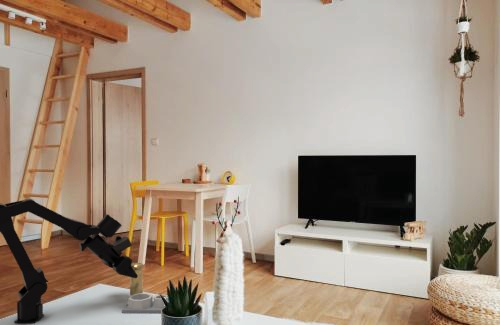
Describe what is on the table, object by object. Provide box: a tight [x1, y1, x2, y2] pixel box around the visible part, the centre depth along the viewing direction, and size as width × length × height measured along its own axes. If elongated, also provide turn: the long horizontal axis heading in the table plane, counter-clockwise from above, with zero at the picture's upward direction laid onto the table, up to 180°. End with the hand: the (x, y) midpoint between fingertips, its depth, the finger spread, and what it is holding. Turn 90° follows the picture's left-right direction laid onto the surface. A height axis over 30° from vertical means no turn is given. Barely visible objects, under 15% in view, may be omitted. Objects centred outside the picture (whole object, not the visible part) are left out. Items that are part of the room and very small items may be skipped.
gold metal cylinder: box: [129, 262, 144, 297], centre depth 155 cm, size 5×5×12 cm
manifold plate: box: [121, 292, 169, 314], centre depth 144 cm, size 16×9×4 cm, turn 89°
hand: (132, 274), depth 154 cm, fingers open, 9 cm apart
